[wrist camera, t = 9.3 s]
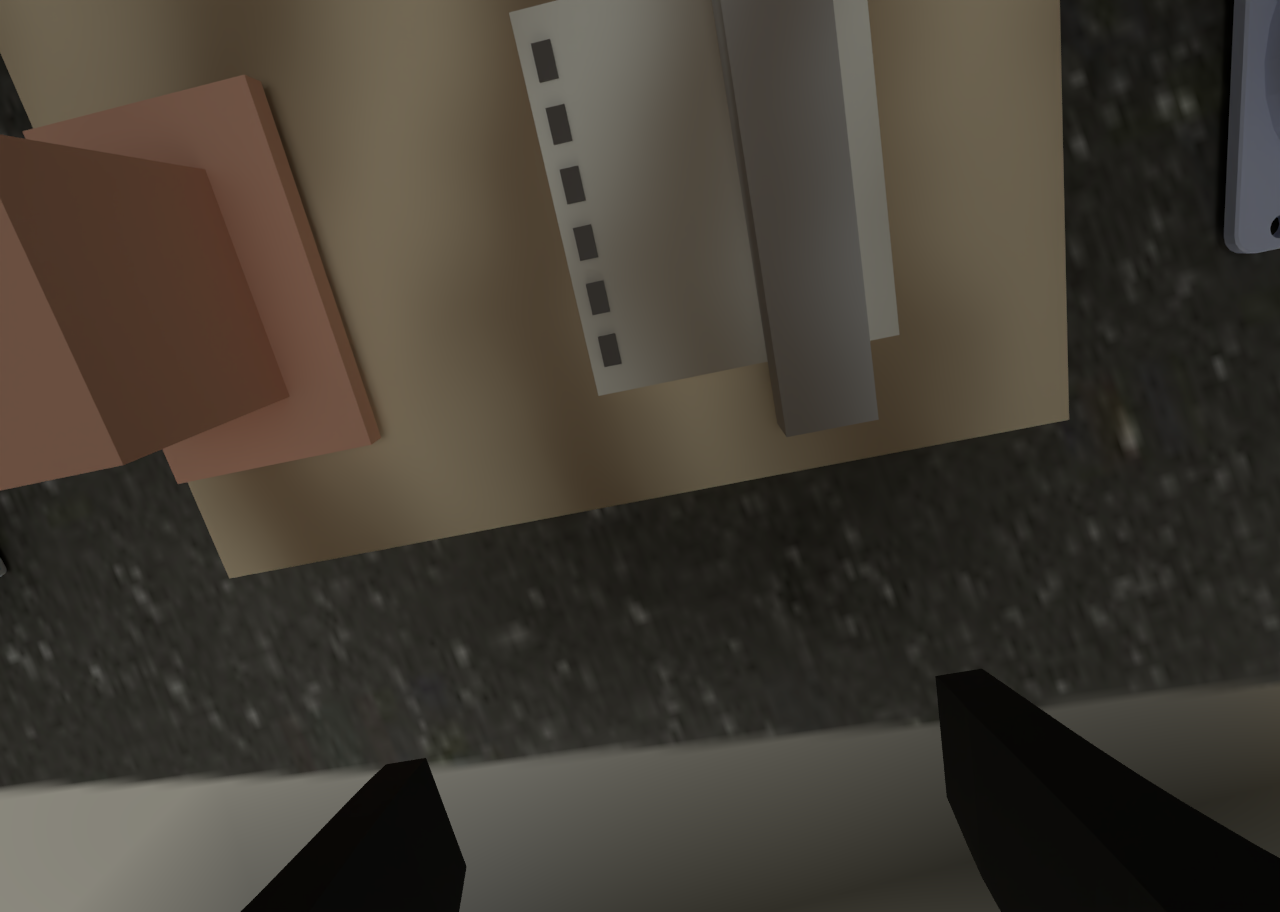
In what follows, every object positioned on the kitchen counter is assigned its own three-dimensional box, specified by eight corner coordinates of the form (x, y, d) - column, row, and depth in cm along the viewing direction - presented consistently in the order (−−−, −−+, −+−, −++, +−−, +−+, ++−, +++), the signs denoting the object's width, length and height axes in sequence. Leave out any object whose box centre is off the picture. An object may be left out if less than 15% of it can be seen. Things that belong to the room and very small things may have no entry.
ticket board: (1024, -271, 13) (1118, -403, 10) (1046, 410, 17) (1118, 440, 14) (16, 6, 15) (-123, -47, 12) (251, 561, 19) (184, 613, 16)
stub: (261, 81, 14) (14, -22, 9) (381, 437, 16) (245, 532, 11) (47, 136, 15) (-315, 70, 9) (194, 475, 17) (-26, 585, 11)
